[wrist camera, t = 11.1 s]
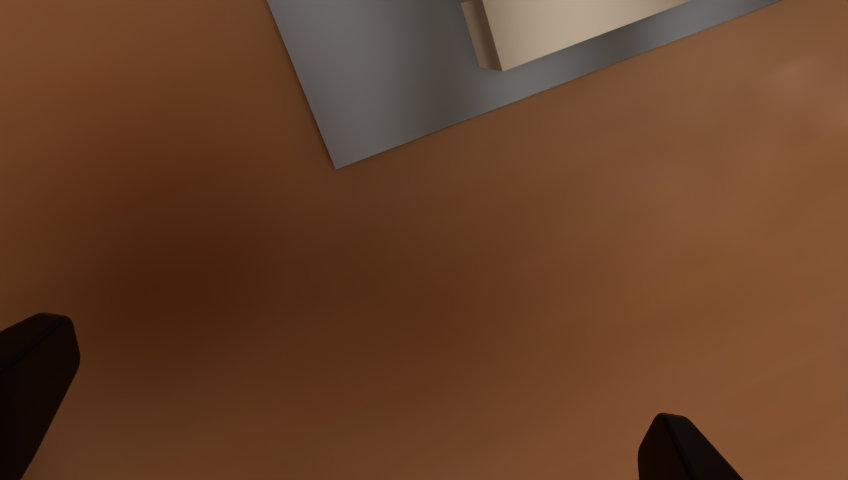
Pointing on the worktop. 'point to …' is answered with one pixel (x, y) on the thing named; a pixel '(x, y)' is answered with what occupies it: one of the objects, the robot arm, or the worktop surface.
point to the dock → (461, 56)
